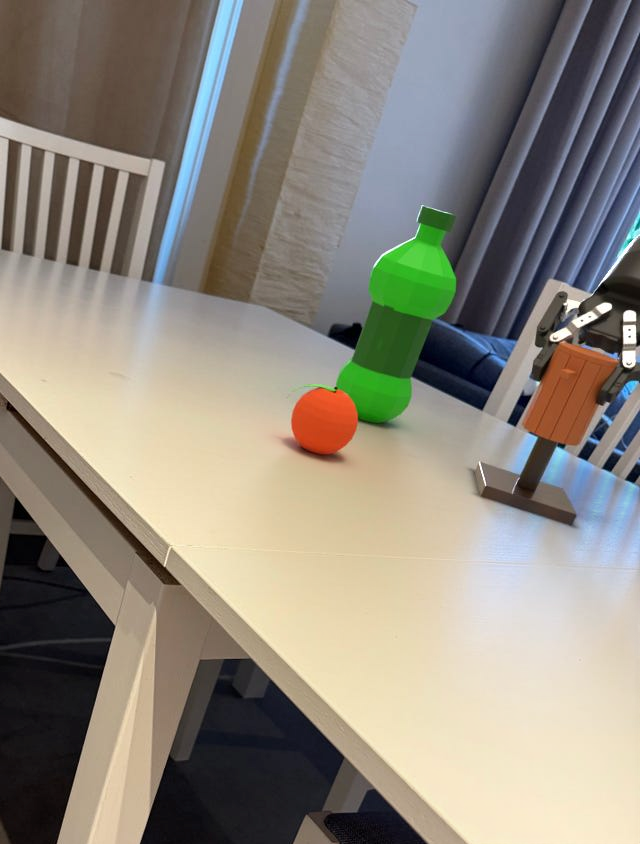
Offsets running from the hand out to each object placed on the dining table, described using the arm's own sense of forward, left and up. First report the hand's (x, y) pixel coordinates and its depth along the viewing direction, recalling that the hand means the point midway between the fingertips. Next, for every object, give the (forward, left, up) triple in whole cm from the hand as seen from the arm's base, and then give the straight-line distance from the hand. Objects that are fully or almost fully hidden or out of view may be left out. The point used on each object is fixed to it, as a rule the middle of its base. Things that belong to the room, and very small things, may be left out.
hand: (568, 387), depth 96 cm
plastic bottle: (+18, -17, -13) cm, 28 cm away
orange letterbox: (0, 0, -5) cm, 5 cm away
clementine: (+23, +7, -13) cm, 27 cm away
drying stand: (-1, -1, -13) cm, 13 cm away
